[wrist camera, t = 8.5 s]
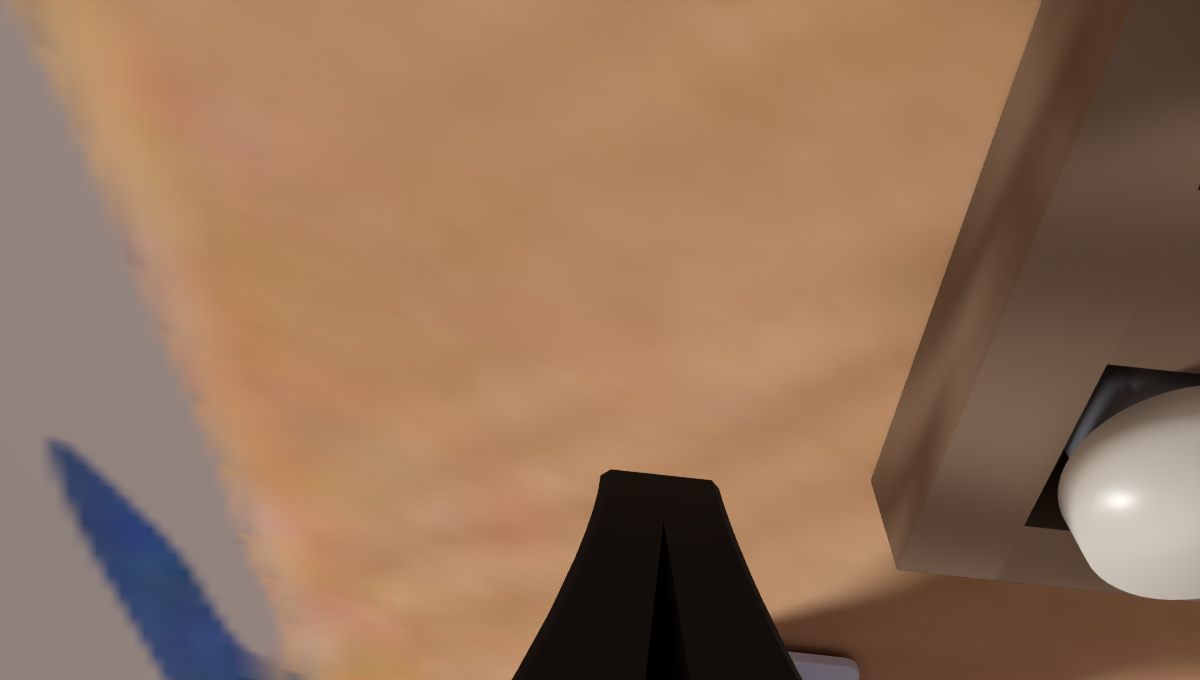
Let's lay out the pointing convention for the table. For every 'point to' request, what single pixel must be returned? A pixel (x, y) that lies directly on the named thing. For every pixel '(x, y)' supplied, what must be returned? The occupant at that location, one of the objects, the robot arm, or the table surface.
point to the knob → (1138, 482)
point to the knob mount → (1052, 292)
